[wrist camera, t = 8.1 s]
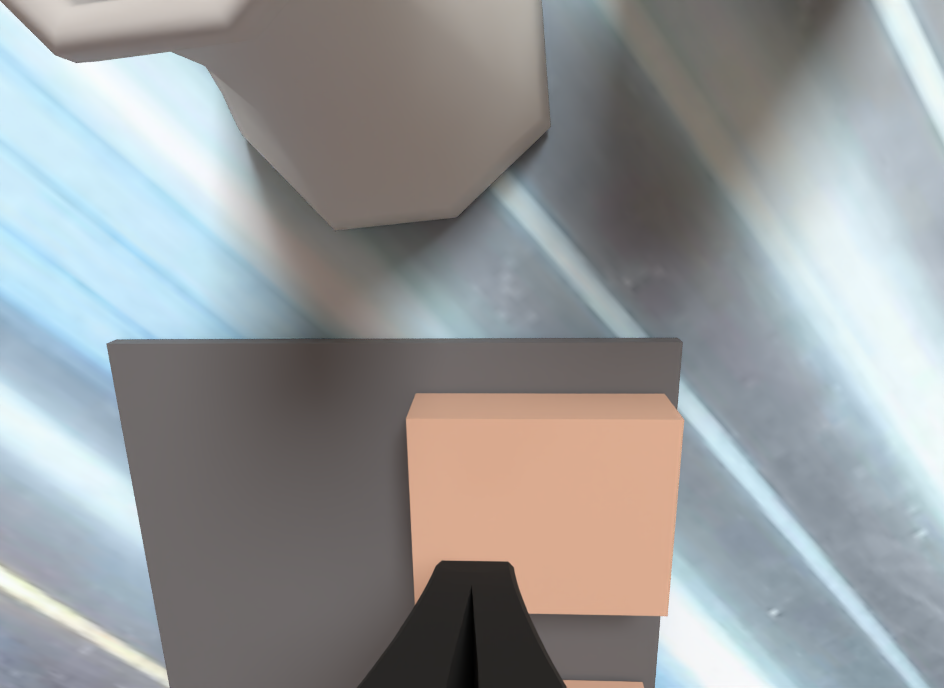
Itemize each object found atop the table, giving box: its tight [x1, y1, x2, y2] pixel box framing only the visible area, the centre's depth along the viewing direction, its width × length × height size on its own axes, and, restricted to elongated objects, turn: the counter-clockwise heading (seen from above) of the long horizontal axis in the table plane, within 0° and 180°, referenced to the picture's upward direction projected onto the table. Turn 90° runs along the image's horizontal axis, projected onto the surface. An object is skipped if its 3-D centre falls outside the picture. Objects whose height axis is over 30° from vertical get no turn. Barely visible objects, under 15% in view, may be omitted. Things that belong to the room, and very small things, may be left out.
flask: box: [0, 0, 551, 231], centre depth 9 cm, size 7×7×10 cm
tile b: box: [406, 393, 684, 616], centre depth 15 cm, size 2×5×6 cm
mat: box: [107, 338, 683, 688], centre depth 17 cm, size 14×16×1 cm
